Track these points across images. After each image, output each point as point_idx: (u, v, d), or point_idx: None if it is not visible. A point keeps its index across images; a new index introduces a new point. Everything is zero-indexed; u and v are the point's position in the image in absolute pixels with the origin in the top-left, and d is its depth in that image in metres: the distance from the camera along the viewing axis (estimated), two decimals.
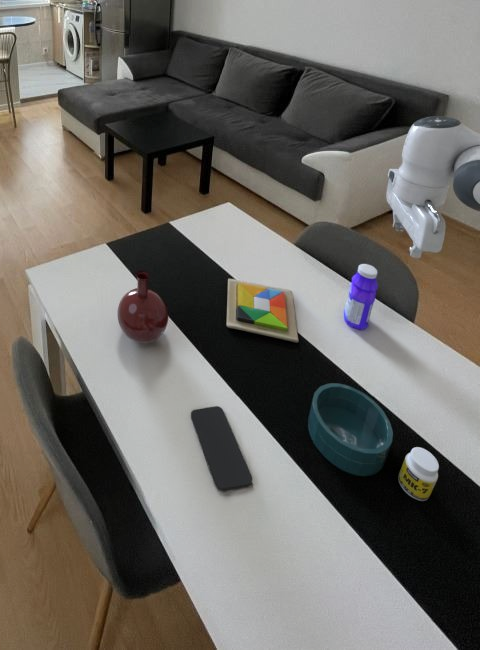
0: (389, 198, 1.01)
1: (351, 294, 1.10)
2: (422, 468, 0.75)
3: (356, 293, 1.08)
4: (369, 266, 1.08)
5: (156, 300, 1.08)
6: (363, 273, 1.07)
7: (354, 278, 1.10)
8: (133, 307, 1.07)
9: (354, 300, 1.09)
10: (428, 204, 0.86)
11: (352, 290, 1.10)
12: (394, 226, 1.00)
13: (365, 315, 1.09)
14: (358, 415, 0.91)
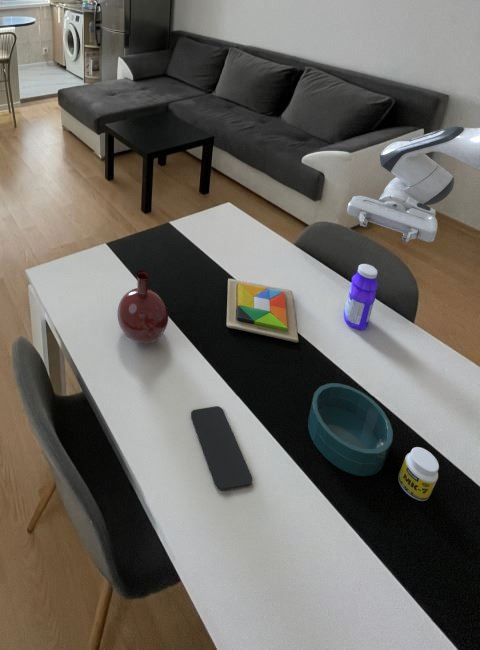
0: None
1: (351, 294, 1.10)
2: (422, 468, 0.75)
3: (356, 293, 1.08)
4: (369, 266, 1.08)
5: (156, 300, 1.08)
6: (363, 273, 1.07)
7: (354, 278, 1.10)
8: (133, 307, 1.07)
9: (354, 300, 1.09)
10: None
11: (352, 290, 1.10)
12: None
13: (365, 315, 1.09)
14: (358, 415, 0.91)
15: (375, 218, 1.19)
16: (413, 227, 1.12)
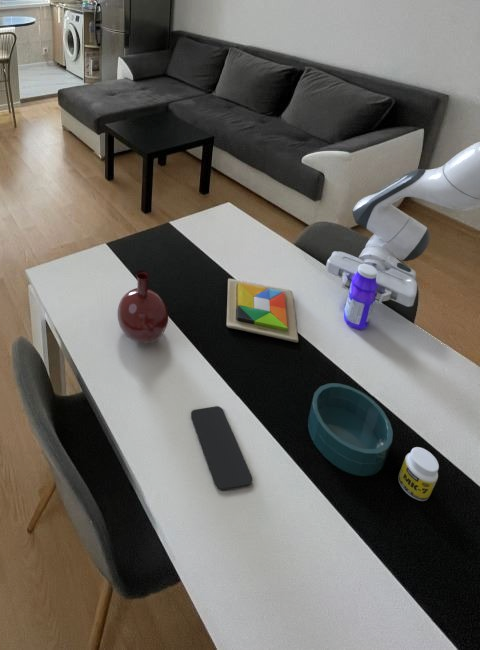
0: None
1: (351, 294, 1.10)
2: (422, 468, 0.75)
3: (356, 293, 1.08)
4: (369, 266, 1.08)
5: (155, 300, 1.08)
6: (363, 273, 1.07)
7: (354, 278, 1.10)
8: (133, 307, 1.07)
9: (354, 300, 1.09)
10: None
11: (352, 290, 1.10)
12: None
13: (365, 315, 1.09)
14: (358, 415, 0.91)
15: None
16: (392, 290, 1.08)
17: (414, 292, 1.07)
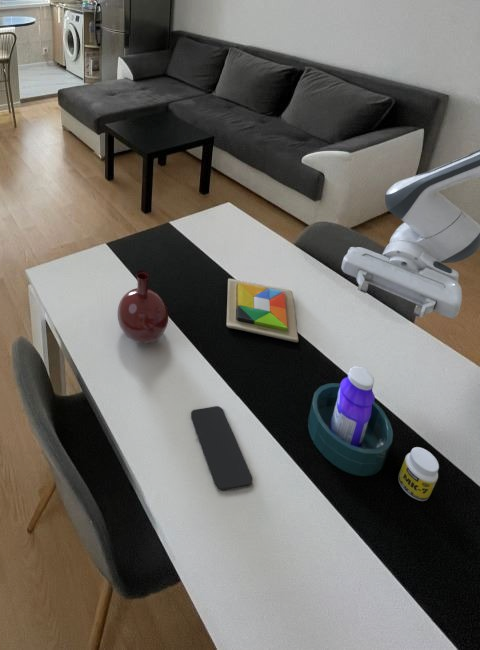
0: None
1: (339, 406, 0.83)
2: (422, 468, 0.75)
3: (346, 407, 0.82)
4: (363, 371, 0.82)
5: (156, 300, 1.08)
6: (355, 382, 0.80)
7: (343, 386, 0.83)
8: (133, 307, 1.07)
9: (343, 415, 0.82)
10: None
11: (340, 401, 0.83)
12: None
13: (357, 435, 0.82)
14: None
15: (378, 280, 0.91)
16: (429, 297, 0.84)
17: (459, 299, 0.82)
